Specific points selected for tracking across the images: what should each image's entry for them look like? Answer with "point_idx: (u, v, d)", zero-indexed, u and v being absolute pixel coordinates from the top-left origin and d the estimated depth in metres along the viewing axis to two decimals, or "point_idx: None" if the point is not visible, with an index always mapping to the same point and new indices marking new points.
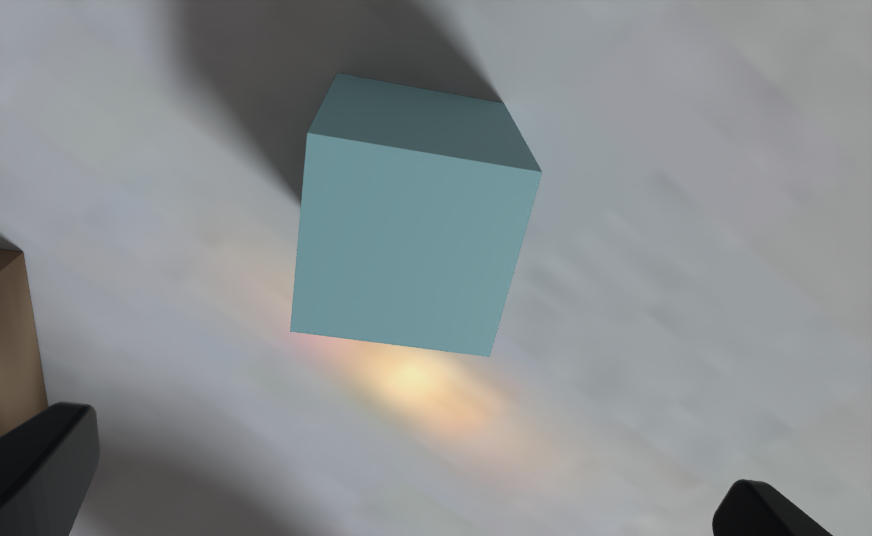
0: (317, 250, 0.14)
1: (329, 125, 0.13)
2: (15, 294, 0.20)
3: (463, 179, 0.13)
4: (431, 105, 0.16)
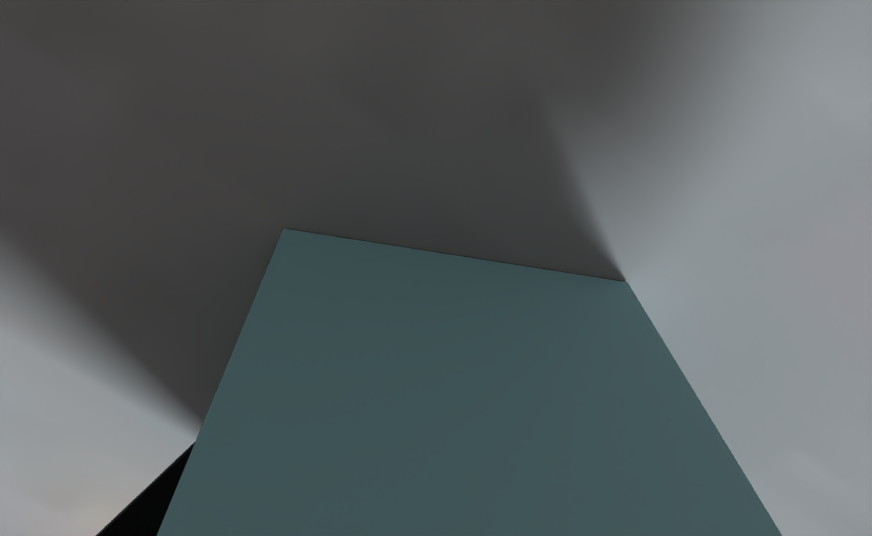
0: None
1: None
2: None
3: None
4: (493, 338, 0.07)
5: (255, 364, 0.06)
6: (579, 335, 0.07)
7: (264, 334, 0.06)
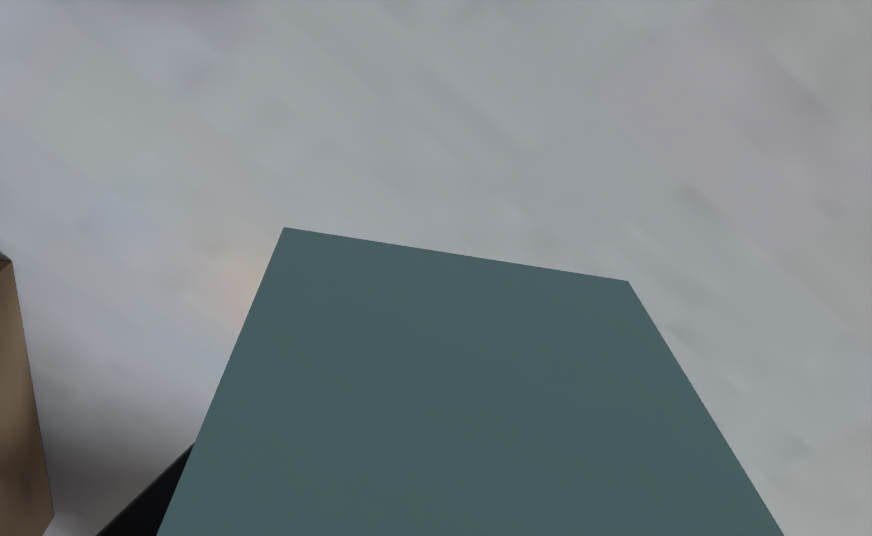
0: None
1: None
2: (3, 306, 0.19)
3: None
4: (493, 337, 0.07)
5: (256, 362, 0.06)
6: (580, 334, 0.07)
7: (265, 332, 0.06)
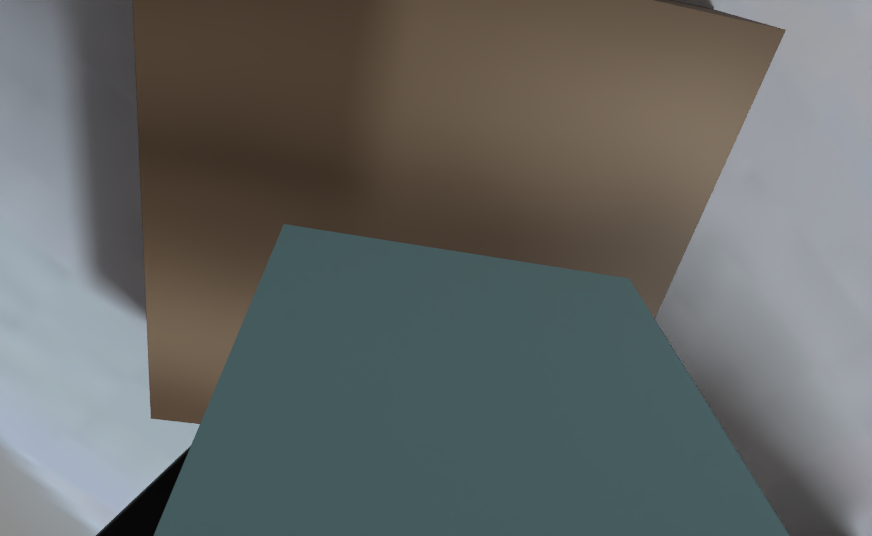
0: None
1: None
2: None
3: None
4: (495, 334, 0.07)
5: (256, 359, 0.06)
6: (581, 331, 0.07)
7: (265, 329, 0.06)
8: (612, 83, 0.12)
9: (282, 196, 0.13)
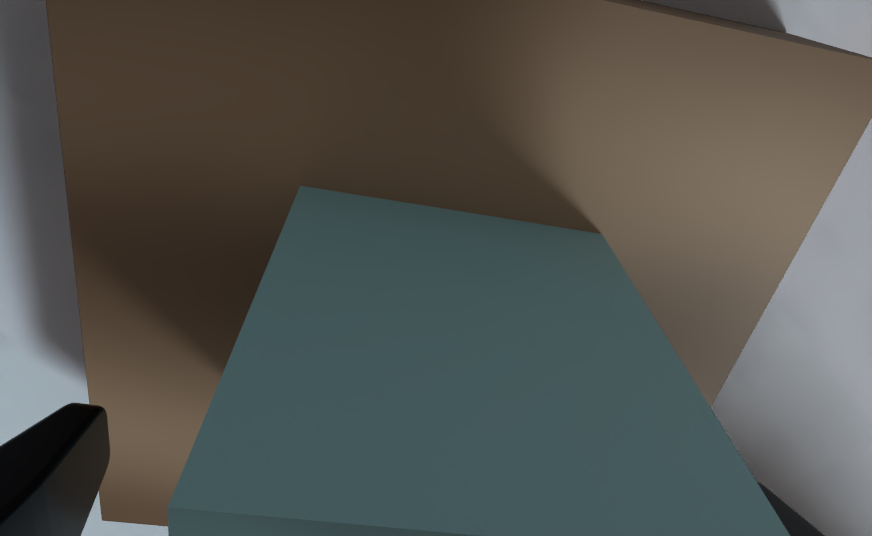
0: None
1: (246, 431, 0.05)
2: None
3: None
4: (481, 271, 0.08)
5: (283, 282, 0.07)
6: (556, 271, 0.09)
7: (289, 262, 0.07)
8: (673, 133, 0.09)
9: (253, 270, 0.10)
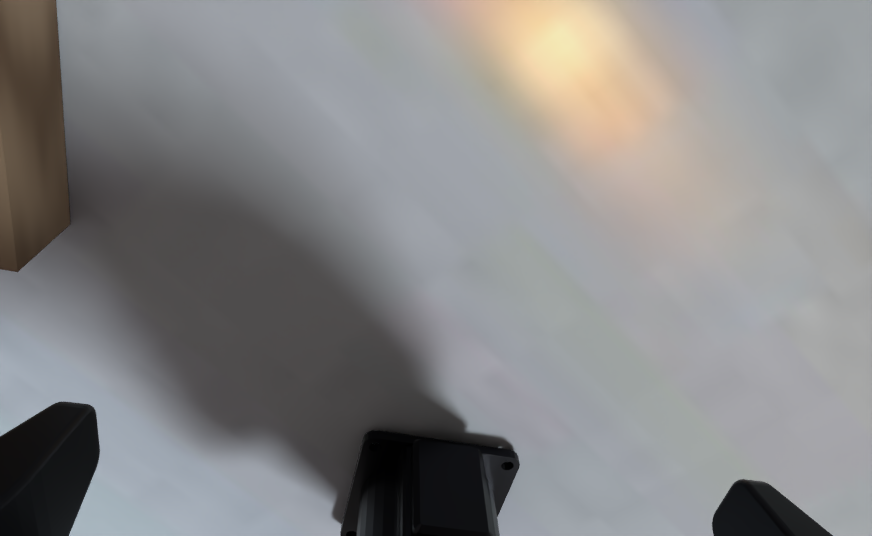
0: None
1: None
2: None
3: None
4: None
5: None
6: None
7: None
8: None
9: None
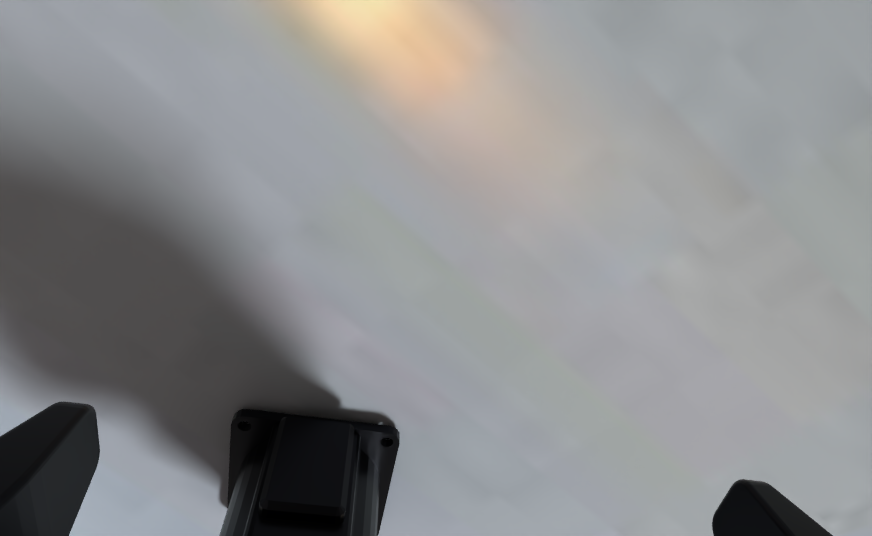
0: None
1: None
2: None
3: None
4: None
5: None
6: None
7: None
8: None
9: None
